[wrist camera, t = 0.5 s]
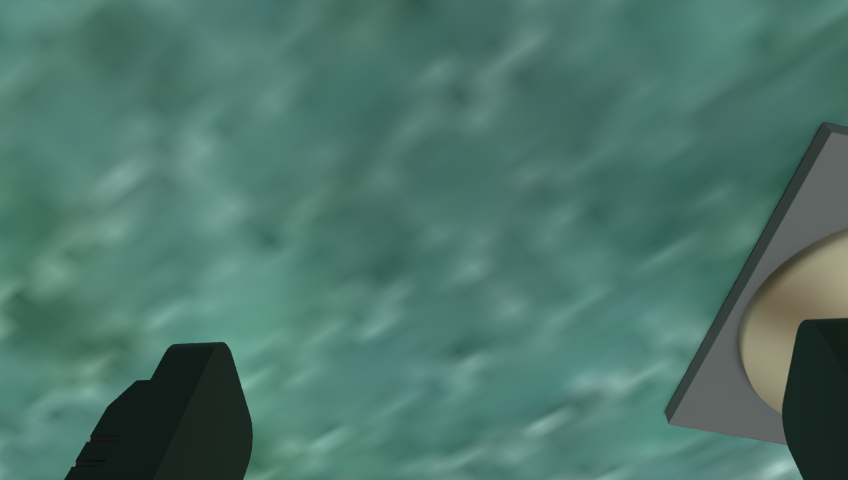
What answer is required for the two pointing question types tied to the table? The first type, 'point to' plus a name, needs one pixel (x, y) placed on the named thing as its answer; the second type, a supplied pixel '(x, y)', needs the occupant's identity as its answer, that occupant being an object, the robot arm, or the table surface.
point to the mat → (782, 238)
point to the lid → (792, 311)
